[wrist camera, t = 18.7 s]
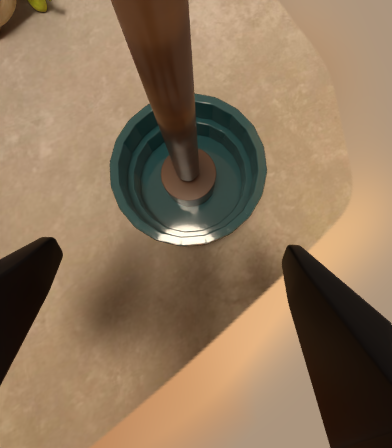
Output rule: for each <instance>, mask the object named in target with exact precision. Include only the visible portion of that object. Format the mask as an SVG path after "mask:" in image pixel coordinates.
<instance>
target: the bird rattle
mask: <svg viewBox="0 0 392 448" xmlns="http://www.w3.org/2000/svg"><path fill="white" fill-rule="evenodd" d="M27 1H28V2H29V3H30V5H31V6H32V7H33V8H34V9H36V10H37V11H40V12H46V10H47V4H46V0H27ZM49 1H51V0H49ZM16 2H17V0H0V29H1V26H2V25H4V24H5V23H6V22H7V21H8V20H9V19H10V18H11V16H12V15H13V13H14V10H15V7H16Z"/></svg>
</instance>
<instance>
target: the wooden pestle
mask: <svg viewBox="0 0 392 448" xmlns="http://www.w3.org/2000/svg"><path fill="white" fill-rule="evenodd" d="M111 2H112V5H113V7H114V10H115V13H116V15H117V18H118V20H119V23H120V26H121V28H122V31H123V34H124V36H125V39H126V42H127V44H128V47H129V49H130V52H131V55H132V57H133V60H134V63H135V65H136V68H137V71H138V73H139V76H140V78H141V81H142V84H143V86H144V89H145V92H146V94H147V97H148V100H149V102H150V105H151V107H152V110H153V113H154V115H155V118H156V121H157V123H158V126H159V129H160V131H161V134H162V136H163V139H164V142H165V144H166V147H167V150H168V152H169V156H168V157H167V158H166V159H165V161H164V163H163V165H162V169H161V180H162V183H163V186H164V188H165V189H166V191H167V192H168V194H169V195H170V197H171V198H172V199H173V200H174V201H175V202H177V203H178V204H180V205H183V206H187V207H193V206H198V205H200V204H202V203H204V202H205V201H207V200H208V199H209V198H210V196H211V195H212V193H213V190H214V186H215V180H216V167H215V164H214V162H213V160H212V158H211V157H210V156H209V155H208V154H207V153H206V152H204V151H203V150H201V149H198V142H197V127H196V111H195V96H194V81H193V65H192V50H191V35H190V19H189V4H188V0H111Z"/></svg>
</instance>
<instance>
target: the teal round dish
mask: <svg viewBox="0 0 392 448" xmlns="http://www.w3.org/2000/svg"><path fill="white" fill-rule="evenodd" d="M194 96H195V111H196V127H197V142H198V149H201V150H203V151H204V152H206V153H207V154H208V155H209V156H210V157H211V158H212V160H213V162H214V164H215V167H216V180H215V186H214V190H213V193H212V195H211V196H210V198H209V199H208V200H207V201H205V202H204V203H202V204H200V205H198V206H193V207H187V206H183V205H180V204H178V203H177V202H175V201H174V200H173V199H172V198H171V197H170V195H169V194H168V192H167V191H166V189H165V188H164V186H163V183H162V180H161V169H162V165H163V163H164V161H165V159H166V158H167V157H168V156H169V152H168V150H167V147H166V144H165V142H164V139H163V136H162V134H161V131H160V129H159V126H158V123H157V121H156V118H155V115H154V113H153V110H152V107H151V105H150V104H148V105H147V106H145V107H144V108H143V109H142V110H140V111H139V112H138V113H137V114H136V115H134V116H133V117H132V118H131V119H130V120H129V121H128V122H127V124H126V125H125V127H124V128H123V130H122V131H121V133H120V134H119V136H118V138H117V139H116V142H115V145H114V149H113V152H112V156H111V160H110V180H111V188H112V191H113V193H114V196H115V199H116V201H117V204H118V206H119V208H120V210H121V211H122V212H123V214H124V215H125V216H126V217H127V218H128V220H129V221H130V222H131V223H132V224H133V226H134V227H135V228H137V229H138V230H140V231H142V232H143V233H145V234H146V235H148V236H150V237H151V238H153V239H155V240H157V241H160V242H165V243H169V244H173V245H178V246H196V245H205V244H209V243H211V242H213V241H216V240H218V239H220V238H223V237H225V236H227V235H229V234H231V233H232V232H233V231H234V230H235V229H237V228H238V227H239V226H240V225H241V224H242V223H243V222H244V221H246V220H247V219H248V218H249V217H250V215H251V214H252V212H253V210H254V209H255V207H256V205H257V203H258V202H259V200H260V198H261V197H262V194H263V189H264V184H265V179H266V174H267V166H266V158H265V151H264V146H263V144H262V142H261V140H260V138H259V136H258V134H257V132H256V129H255V127H254V126H253V125H252V123H251V122H250V121H249V120H248V119H247V118H246V117H245V116H244V115H243V114H242V113H241V112H240V111H239V110H238V109H236V108H235V107H233V106H231V105H229V104H227V103H225V102H224V101H222V100H220V99H218V98H216V97H211V96H206V95H201V94H195V93H194Z"/></svg>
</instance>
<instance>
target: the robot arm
mask: <svg viewBox="0 0 392 448" xmlns="http://www.w3.org/2000/svg"><path fill="white" fill-rule="evenodd" d="M62 257H63V252H62V250H61V248H60V246H59V245H58V243H57V241H56V239H54V238H53V237H41V238H39V239H37V240H35V241H34V242H32V243H30V244H28V245H26V246H24V247H22V248H21V249H19V250H17V251H15V252H13V253H11V254H9V255H8V256H6V257H4V258H2V259H0V385H1V384H2V382H3V380H4V378H5V376H6V374H7V372H8V370H9V368H10V366H11V364H12V362H13V360H14V358H15V357H16V355H17V353H18V351H19V349H20V347H21V345H22V343H23V341H24V339H25V337H26V335H27V333H28V331H29V330H30V328H31V326H32V324H33V322H34V320H35V318H36V316H37V314H38V312H39V310H40V308H41V306H42V304H43V303H44V301H45V299H46V297H47V295H48V293H49V290H50V288H51V285H52V283H53V280H54V278H55V275H56V273H57V270H58V268H59V265H60V262H61V260H62ZM282 269H283V275H284V281H285V286H286V292H287V298H288V303H289V307H290V310H291V314H292V317H293V321H294V324H295V328H296V331H297V334H298V338H299V342H300V344H301V348H302V352H303V355H304V358H305V362H306V365H307V369H308V372H309V376H310V379H311V383H312V386H313V389H314V393H315V396H316V400H317V403H318V407H319V410H320V413H321V417H322V420H323V423H324V427H325V431H326V434H327V437H328V440H329V444H330V447H331V448H392V325H391V322H389V321H388V320H387V319H386V318H384V317H383V316H382V315H381V314H380V313H379V312H378V311H376V310H375V309H374V308H373V307H372V306H371V305H369V304H368V303H367V302H366V301H365V300H364V299H362V298H361V297H360V296H359V295H357V294H356V293H355V292H354V291H353V290H352V289H351V288H349V287H348V286H347V285H346V284H345V283H343V282H342V281H341V280H340V279H339V278H337V277H336V276H335V275H334V274H333V273H332V272H331V271H329V270H328V269H327V268H326V267H325V266H324V265H322V264H321V263H320V262H319V261H318V260H316V259H315V258H314V257H313V256H312V255H311V254H309V253H308V252H307V251H306V250H305V249H304V248H302V247H301V246H299V245H288V246H287V248H286V250H285V253H284V256H283V259H282Z"/></svg>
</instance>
